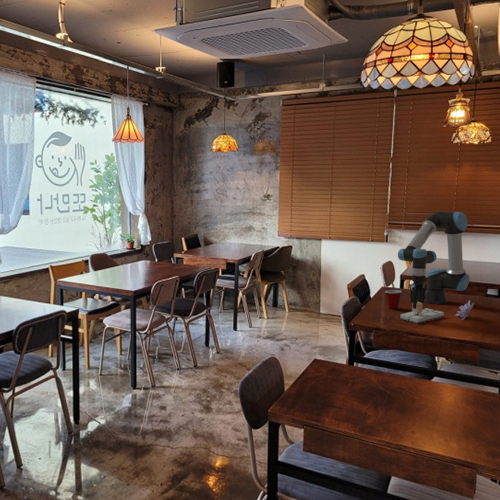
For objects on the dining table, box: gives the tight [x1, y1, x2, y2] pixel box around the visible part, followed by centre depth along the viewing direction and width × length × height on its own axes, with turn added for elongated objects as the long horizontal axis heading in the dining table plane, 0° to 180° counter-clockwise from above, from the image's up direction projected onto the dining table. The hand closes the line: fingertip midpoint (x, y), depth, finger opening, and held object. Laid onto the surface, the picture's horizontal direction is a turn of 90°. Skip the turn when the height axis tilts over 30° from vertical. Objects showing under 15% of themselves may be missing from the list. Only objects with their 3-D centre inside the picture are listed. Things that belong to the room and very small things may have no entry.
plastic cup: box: [384, 289, 402, 310], centre depth 302 cm, size 11×11×12 cm
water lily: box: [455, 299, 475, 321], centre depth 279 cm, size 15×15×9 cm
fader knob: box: [411, 303, 424, 315], centre depth 275 cm, size 5×3×9 cm, turn 34°
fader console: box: [399, 307, 445, 325], centre depth 278 cm, size 12×26×3 cm, turn 124°
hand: (417, 313), depth 275 cm, fingers closed on fader knob, 3 cm apart
